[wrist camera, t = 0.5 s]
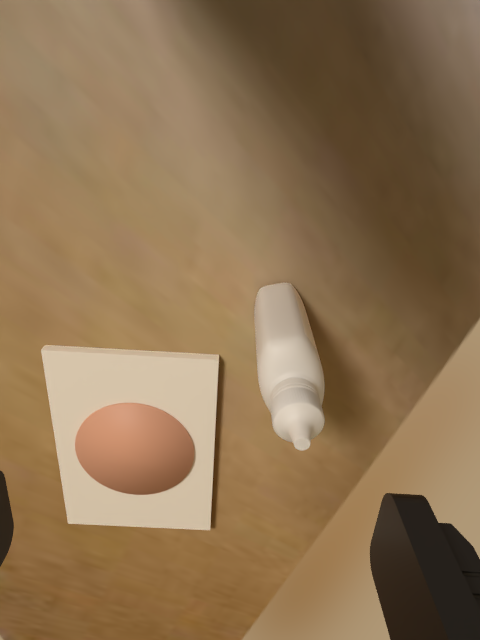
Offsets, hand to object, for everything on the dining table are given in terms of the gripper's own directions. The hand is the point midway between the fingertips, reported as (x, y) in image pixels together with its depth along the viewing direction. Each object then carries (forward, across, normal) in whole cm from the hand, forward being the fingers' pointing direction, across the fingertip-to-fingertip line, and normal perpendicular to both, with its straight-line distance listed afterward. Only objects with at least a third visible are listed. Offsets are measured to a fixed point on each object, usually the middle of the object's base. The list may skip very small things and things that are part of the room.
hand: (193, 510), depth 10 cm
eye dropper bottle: (+21, -4, +4) cm, 21 cm away
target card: (+21, +6, +16) cm, 27 cm away
